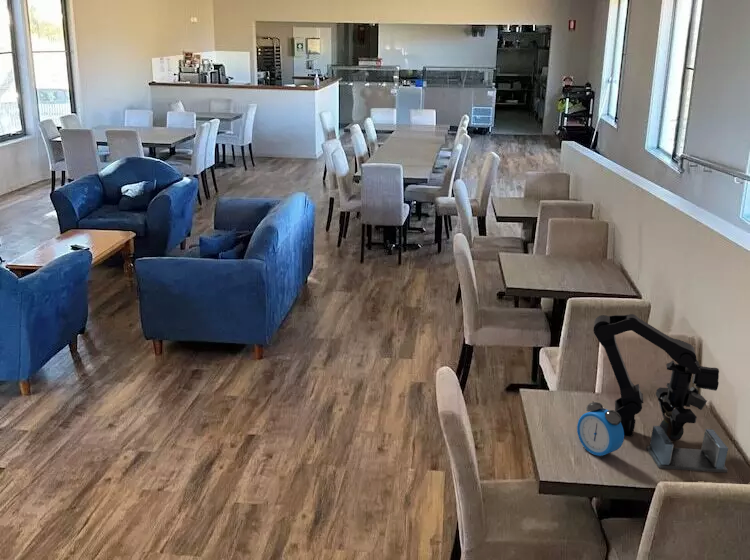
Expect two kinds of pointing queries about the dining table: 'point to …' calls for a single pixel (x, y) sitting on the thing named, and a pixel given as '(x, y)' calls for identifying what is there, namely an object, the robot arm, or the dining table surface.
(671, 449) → the free jaw
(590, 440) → the alarm clock
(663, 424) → the mate gourd
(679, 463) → the vise bed
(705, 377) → the robot arm
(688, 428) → the dining table surface
